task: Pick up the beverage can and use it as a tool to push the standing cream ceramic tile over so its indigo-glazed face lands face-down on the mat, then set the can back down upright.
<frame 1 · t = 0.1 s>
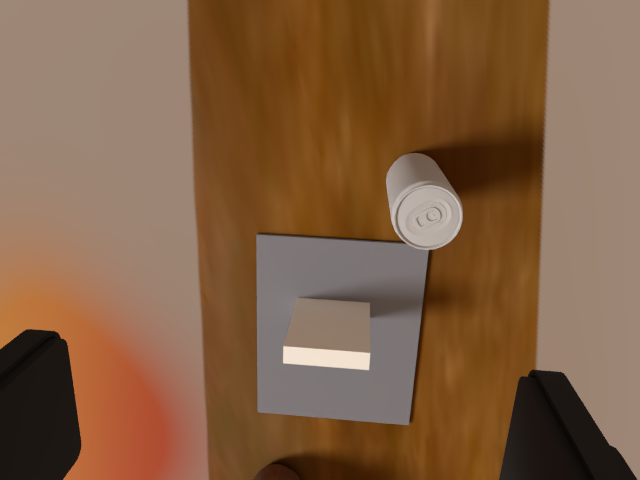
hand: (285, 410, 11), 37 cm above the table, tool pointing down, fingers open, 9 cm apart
mat: (337, 333, 51), on the table
wooden figurine: (280, 476, 58), on the table
tile: (333, 307, 50), resting on mat
beverage can: (412, 178, 46), on the table
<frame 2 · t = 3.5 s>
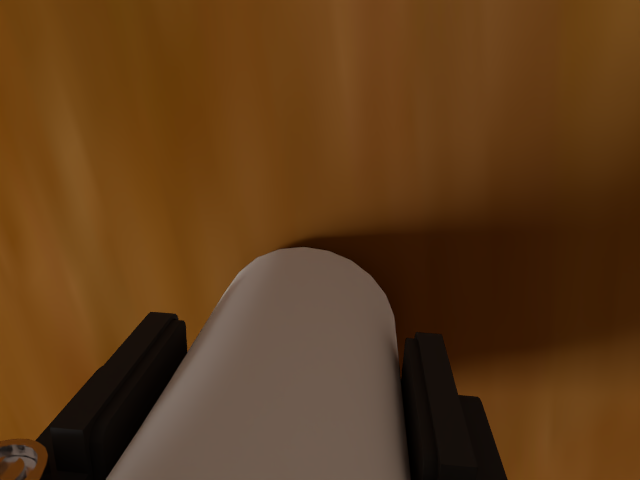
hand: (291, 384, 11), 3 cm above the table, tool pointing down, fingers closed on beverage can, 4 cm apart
beverage can: (307, 318, 14), on the table, touching gripper
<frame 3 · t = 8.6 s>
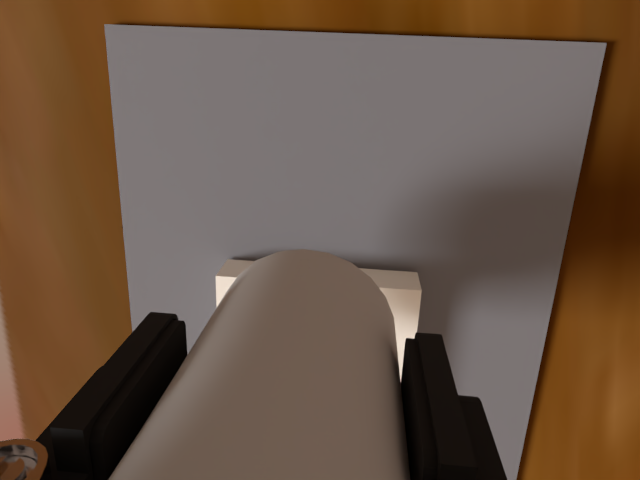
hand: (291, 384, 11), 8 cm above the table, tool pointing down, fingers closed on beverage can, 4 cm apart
mat: (333, 309, 20), on the table
tile: (319, 274, 18), point 1 cm above the table, tilted 90°, touching mat
beverage can: (307, 320, 14), point 5 cm above the table, touching gripper
when the fingers open (4 cm above the table, at t = 14.7 s): beverage can drops 1 cm, on the table.
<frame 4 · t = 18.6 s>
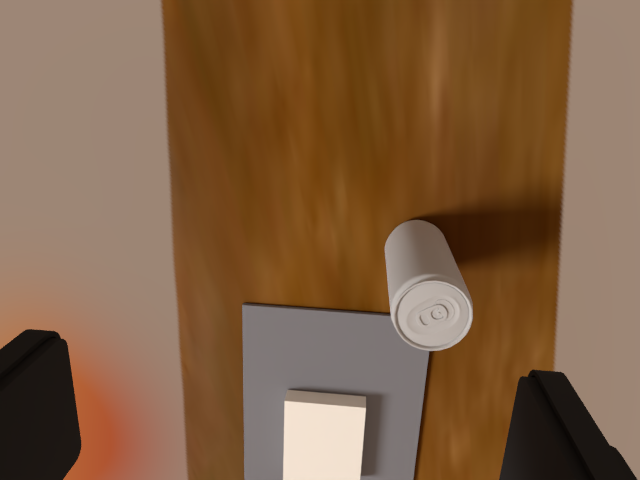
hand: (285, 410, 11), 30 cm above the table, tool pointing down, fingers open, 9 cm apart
mat: (331, 408, 47), on the table
tile: (325, 398, 45), point 1 cm above the table, tilted 90°, touching mat
beverage can: (414, 245, 41), on the table
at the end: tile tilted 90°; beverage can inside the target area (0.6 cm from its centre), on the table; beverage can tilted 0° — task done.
